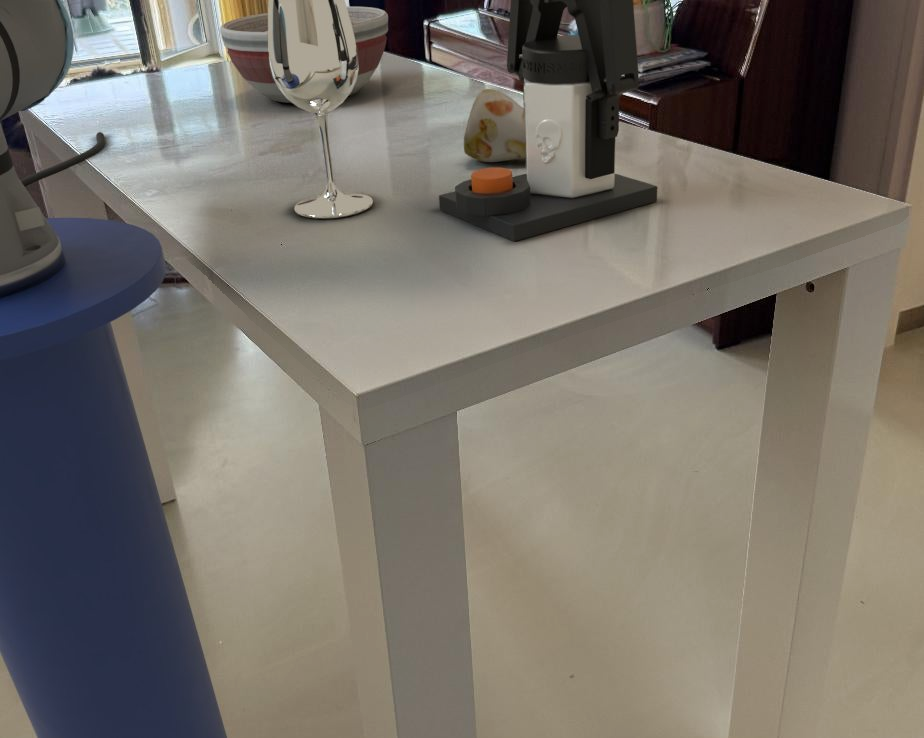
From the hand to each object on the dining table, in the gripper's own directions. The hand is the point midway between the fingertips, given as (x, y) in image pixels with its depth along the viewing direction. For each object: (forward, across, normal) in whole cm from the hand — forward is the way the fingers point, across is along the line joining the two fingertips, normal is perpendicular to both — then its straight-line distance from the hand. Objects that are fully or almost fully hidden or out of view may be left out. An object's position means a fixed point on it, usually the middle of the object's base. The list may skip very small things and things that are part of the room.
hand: (569, 165), depth 89 cm
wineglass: (+3, +14, +18) cm, 23 cm away
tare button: (+1, 0, +8) cm, 9 cm away
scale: (+3, 0, +2) cm, 4 cm away
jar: (+2, 0, 0) cm, 2 cm away
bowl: (+3, +64, -4) cm, 64 cm away
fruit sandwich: (+3, +15, -4) cm, 16 cm away
